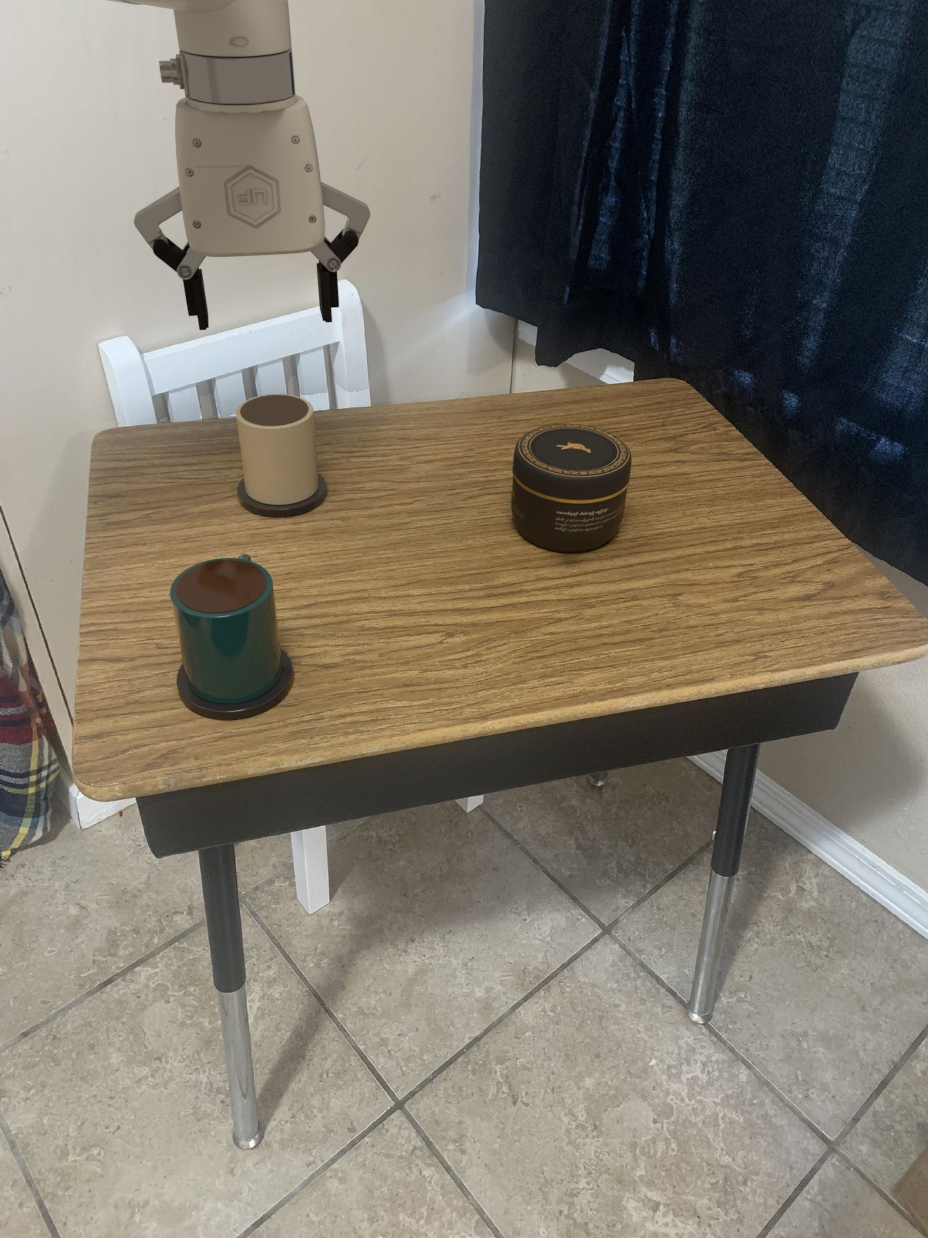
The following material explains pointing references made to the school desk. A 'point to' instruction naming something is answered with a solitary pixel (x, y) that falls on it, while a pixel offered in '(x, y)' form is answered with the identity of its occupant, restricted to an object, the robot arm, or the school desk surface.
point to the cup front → (227, 629)
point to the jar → (569, 486)
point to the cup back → (278, 448)
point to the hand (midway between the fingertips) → (265, 319)
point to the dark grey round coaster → (283, 509)
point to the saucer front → (237, 709)
